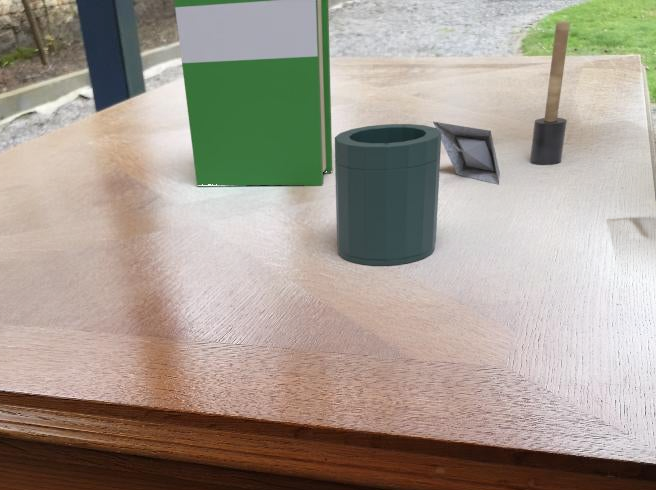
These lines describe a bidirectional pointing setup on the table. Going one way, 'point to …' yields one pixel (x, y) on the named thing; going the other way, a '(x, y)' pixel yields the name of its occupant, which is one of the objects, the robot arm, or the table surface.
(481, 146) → the paper boat
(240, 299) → the table surface
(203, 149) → the hardback book
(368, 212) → the cup
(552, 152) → the brush
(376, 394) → the table surface
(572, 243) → the table surface
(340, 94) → the table surface
